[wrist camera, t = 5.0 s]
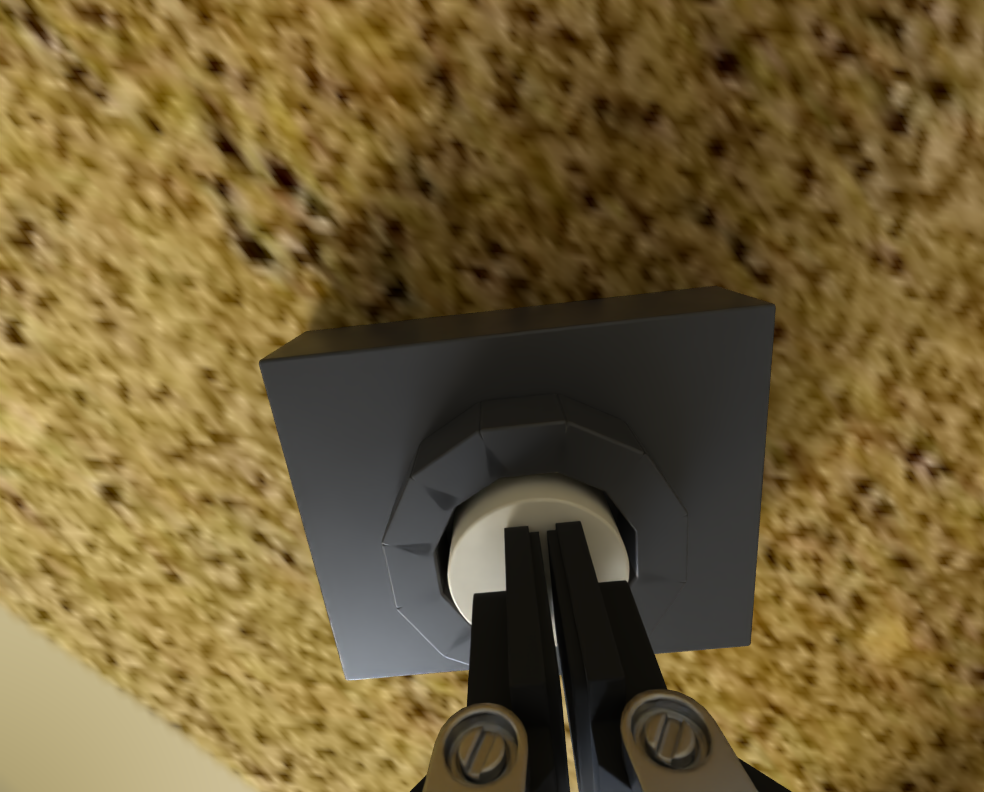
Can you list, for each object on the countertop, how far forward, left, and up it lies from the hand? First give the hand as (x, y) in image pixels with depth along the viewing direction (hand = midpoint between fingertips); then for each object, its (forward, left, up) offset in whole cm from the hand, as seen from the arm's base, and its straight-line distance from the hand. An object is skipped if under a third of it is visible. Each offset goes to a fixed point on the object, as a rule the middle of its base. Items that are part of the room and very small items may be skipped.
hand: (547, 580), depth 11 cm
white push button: (0, 0, -2) cm, 2 cm away
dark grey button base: (0, 0, -6) cm, 6 cm away
